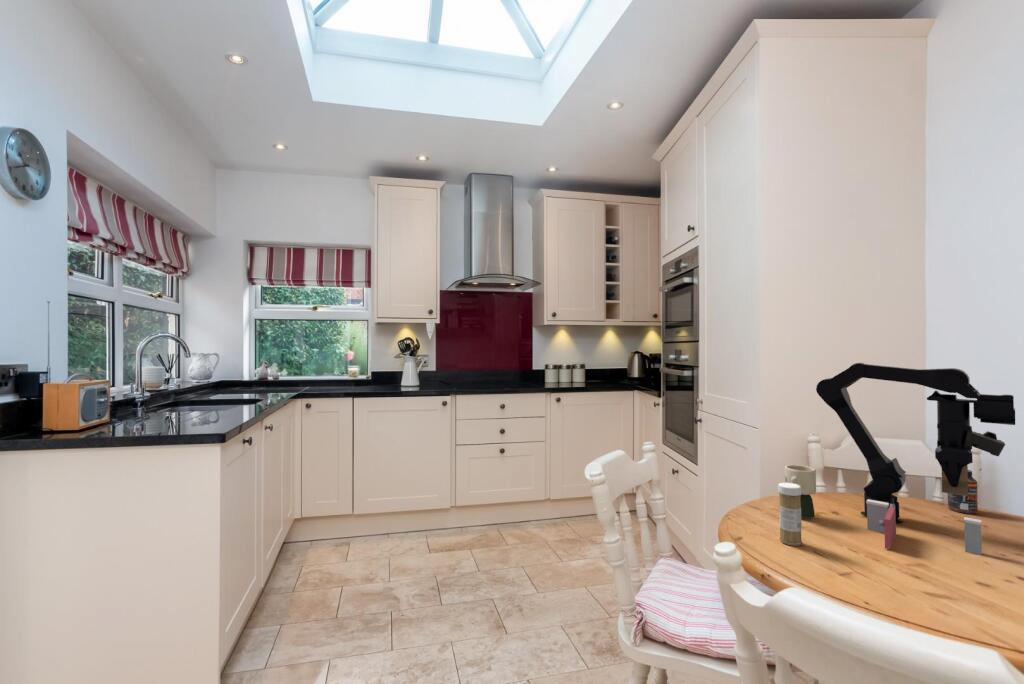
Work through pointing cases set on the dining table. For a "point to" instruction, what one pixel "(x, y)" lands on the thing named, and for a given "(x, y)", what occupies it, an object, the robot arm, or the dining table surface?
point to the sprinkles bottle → (790, 513)
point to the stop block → (962, 484)
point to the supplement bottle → (965, 498)
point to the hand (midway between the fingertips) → (954, 484)
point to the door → (889, 527)
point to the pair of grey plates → (879, 511)
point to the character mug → (803, 486)
